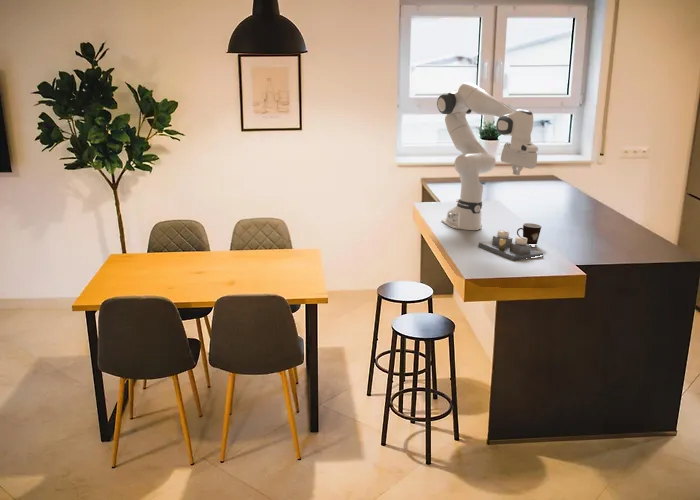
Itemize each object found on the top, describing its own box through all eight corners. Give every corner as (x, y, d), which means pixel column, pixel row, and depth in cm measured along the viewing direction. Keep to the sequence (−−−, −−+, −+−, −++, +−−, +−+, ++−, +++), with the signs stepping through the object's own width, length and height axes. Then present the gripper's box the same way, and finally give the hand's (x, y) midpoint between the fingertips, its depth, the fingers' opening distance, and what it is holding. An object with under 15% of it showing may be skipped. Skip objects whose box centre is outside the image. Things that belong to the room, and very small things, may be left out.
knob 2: (511, 249, 330) (513, 236, 328) (519, 248, 333) (521, 235, 331) (519, 252, 326) (521, 239, 324) (528, 251, 328) (529, 238, 327)
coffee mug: (537, 244, 353) (540, 224, 350) (539, 248, 344) (542, 228, 342) (513, 241, 354) (515, 221, 351) (515, 246, 345) (517, 226, 343)
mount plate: (478, 246, 340) (479, 235, 338) (506, 243, 349) (508, 232, 348) (513, 260, 320) (515, 248, 319) (542, 257, 329) (544, 245, 328)
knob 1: (493, 242, 340) (495, 230, 338) (502, 242, 342) (503, 229, 341) (501, 245, 336) (503, 232, 334) (509, 245, 338) (511, 232, 337)
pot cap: (497, 248, 332) (498, 237, 330) (501, 247, 333) (503, 237, 332) (501, 249, 330) (502, 239, 328) (506, 249, 331) (507, 239, 330)
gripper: (499, 141, 340) (495, 170, 344) (530, 148, 324) (526, 179, 327) (509, 141, 344) (505, 170, 347) (540, 148, 327) (536, 178, 331)
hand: (516, 174), depth 337 cm, fingers closed
